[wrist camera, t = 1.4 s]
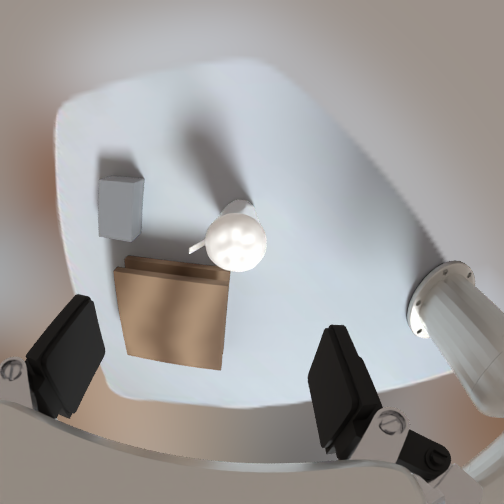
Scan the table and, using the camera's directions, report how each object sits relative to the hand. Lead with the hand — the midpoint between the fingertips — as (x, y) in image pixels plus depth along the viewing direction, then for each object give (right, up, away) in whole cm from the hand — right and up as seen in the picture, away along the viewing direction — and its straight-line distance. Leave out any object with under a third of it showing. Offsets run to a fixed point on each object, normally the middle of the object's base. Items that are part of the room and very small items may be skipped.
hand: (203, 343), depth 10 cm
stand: (-7, -3, +22) cm, 23 cm away
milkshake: (0, +7, +18) cm, 19 cm away
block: (-12, +9, +17) cm, 23 cm away
